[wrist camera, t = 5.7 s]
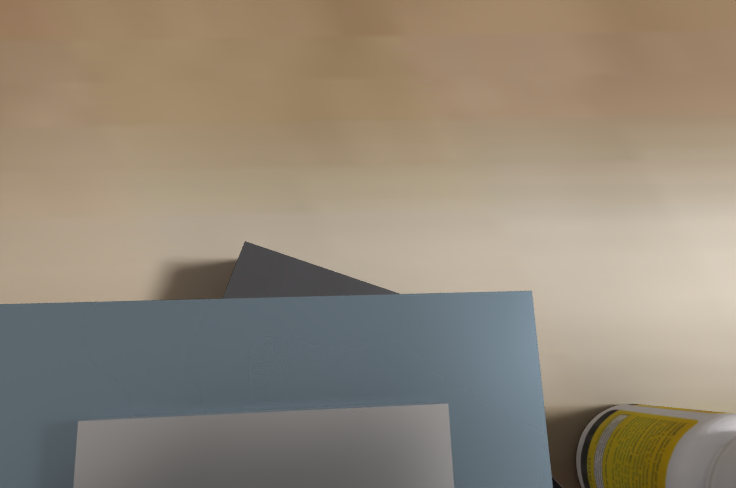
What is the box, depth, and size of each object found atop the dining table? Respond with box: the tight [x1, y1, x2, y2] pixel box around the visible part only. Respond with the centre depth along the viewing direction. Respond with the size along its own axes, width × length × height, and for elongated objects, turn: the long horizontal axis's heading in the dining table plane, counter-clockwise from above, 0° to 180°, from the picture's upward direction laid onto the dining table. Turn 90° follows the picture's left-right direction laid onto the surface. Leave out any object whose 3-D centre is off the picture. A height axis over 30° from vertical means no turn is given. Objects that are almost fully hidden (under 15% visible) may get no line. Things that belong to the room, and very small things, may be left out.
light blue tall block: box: [0, 291, 553, 488], centre depth 9 cm, size 4×4×12 cm
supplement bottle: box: [576, 404, 736, 488], centre depth 19 cm, size 5×5×8 cm
